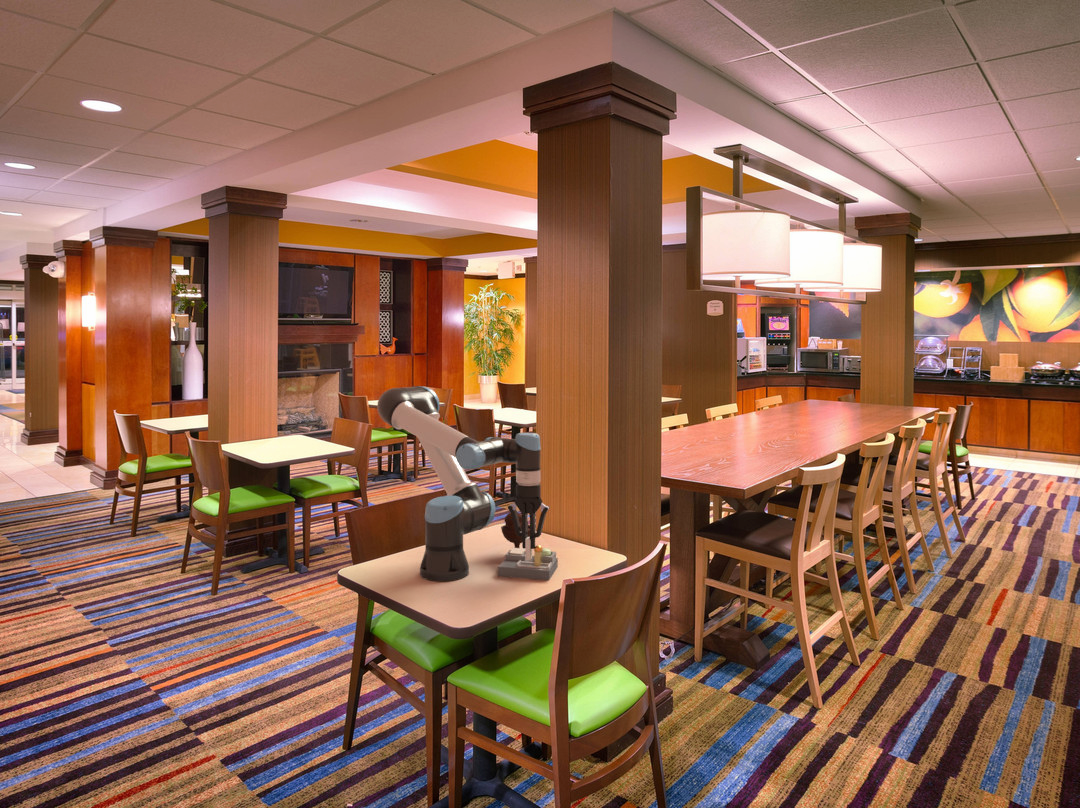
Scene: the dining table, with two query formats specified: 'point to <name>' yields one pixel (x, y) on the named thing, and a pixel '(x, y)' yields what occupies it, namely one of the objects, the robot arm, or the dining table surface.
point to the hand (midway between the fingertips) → (528, 558)
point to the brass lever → (538, 555)
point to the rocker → (517, 551)
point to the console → (528, 567)
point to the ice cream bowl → (513, 530)
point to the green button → (546, 552)
